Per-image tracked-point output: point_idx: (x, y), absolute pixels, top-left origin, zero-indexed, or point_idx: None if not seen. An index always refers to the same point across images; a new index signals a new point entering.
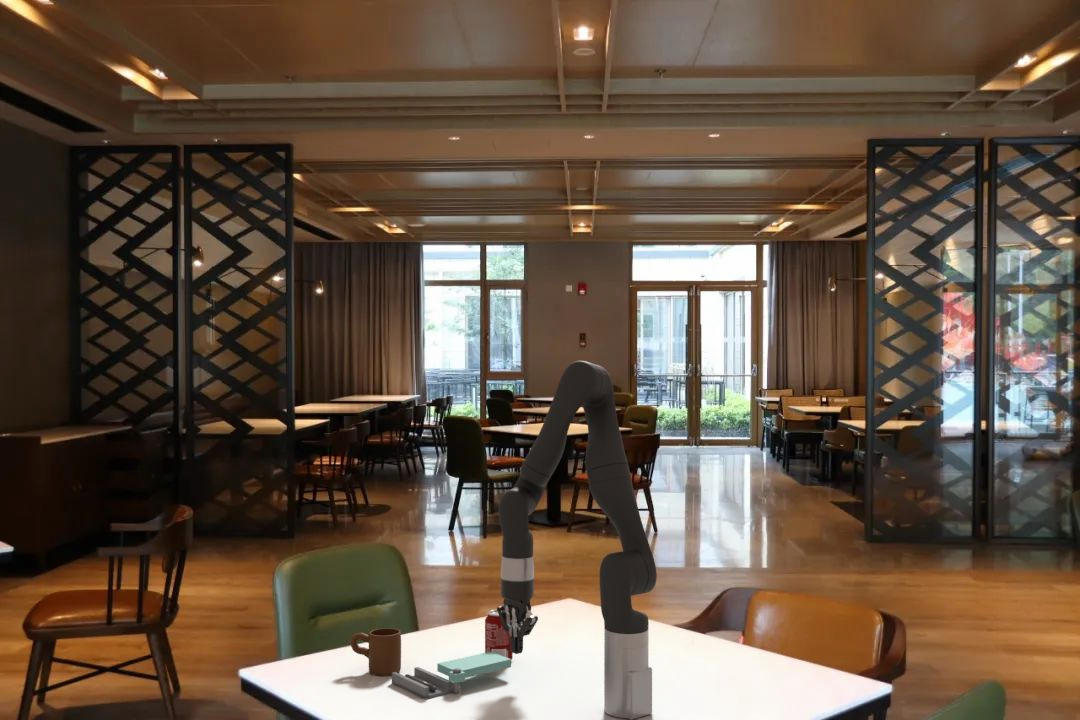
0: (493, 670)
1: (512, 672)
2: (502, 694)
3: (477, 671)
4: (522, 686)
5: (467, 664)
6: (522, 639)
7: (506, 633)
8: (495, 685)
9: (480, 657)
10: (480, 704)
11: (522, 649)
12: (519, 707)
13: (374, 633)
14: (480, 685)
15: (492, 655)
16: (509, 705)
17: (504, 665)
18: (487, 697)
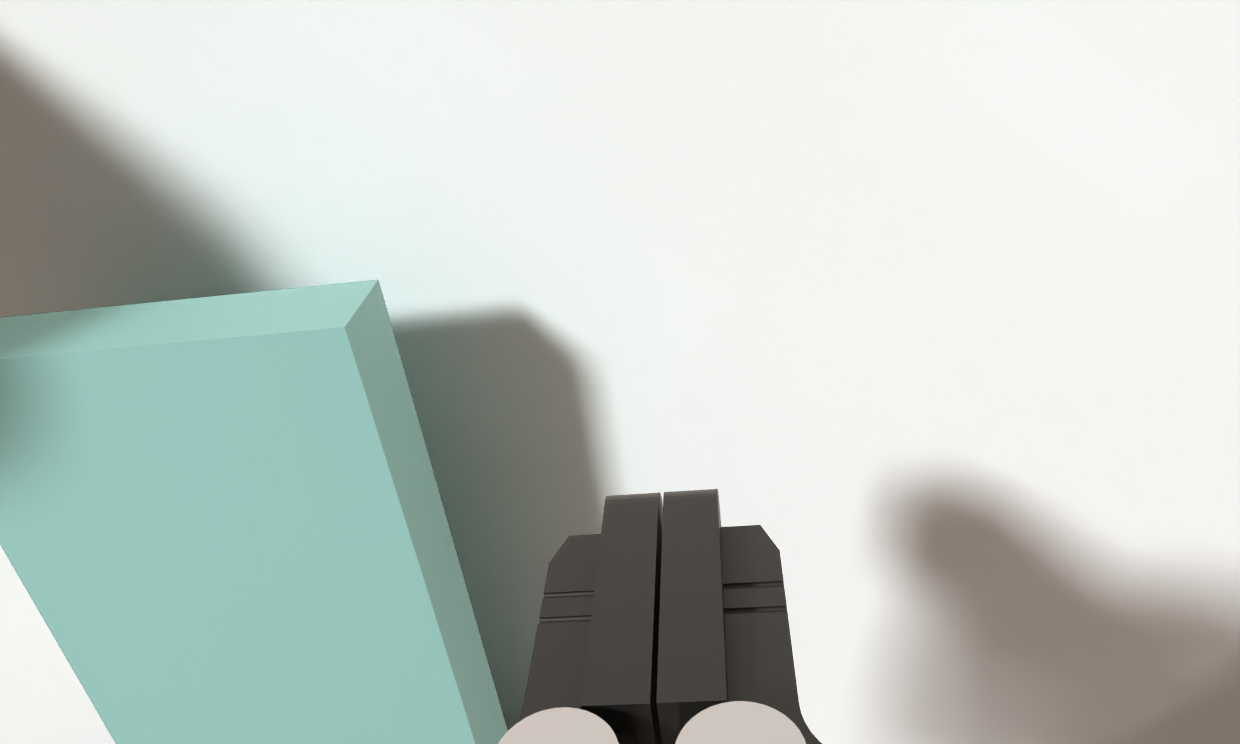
0: (443, 515)
1: (190, 79)
2: (816, 520)
3: (483, 698)
4: (723, 252)
5: None
6: (798, 702)
7: None
8: (543, 448)
9: (135, 571)
10: (913, 740)
11: (774, 549)
12: (1218, 574)
13: None
14: (476, 545)
15: (91, 433)
16: (1107, 608)
17: (396, 395)
18: (803, 640)
